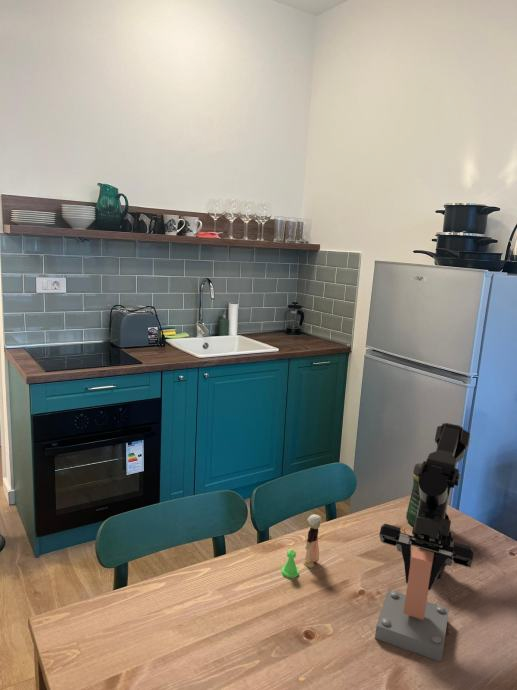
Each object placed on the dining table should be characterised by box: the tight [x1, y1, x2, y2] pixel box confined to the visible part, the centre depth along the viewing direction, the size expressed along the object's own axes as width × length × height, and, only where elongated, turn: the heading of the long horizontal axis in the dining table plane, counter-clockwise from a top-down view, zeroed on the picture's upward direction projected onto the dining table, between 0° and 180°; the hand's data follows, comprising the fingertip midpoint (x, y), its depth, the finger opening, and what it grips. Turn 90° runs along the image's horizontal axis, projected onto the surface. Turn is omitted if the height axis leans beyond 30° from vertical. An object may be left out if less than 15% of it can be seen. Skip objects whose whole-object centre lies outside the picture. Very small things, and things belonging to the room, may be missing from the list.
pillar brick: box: [404, 546, 434, 620], centre depth 111 cm, size 4×4×13 cm
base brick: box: [374, 589, 450, 662], centre depth 112 cm, size 13×13×4 cm
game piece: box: [280, 549, 300, 579], centre depth 128 cm, size 4×4×6 cm
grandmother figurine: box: [303, 514, 322, 569], centre depth 133 cm, size 8×4×13 cm, turn 168°
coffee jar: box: [405, 462, 423, 526], centre depth 155 cm, size 10×8×19 cm
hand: (417, 586), depth 109 cm, fingers closed on pillar brick, 4 cm apart
